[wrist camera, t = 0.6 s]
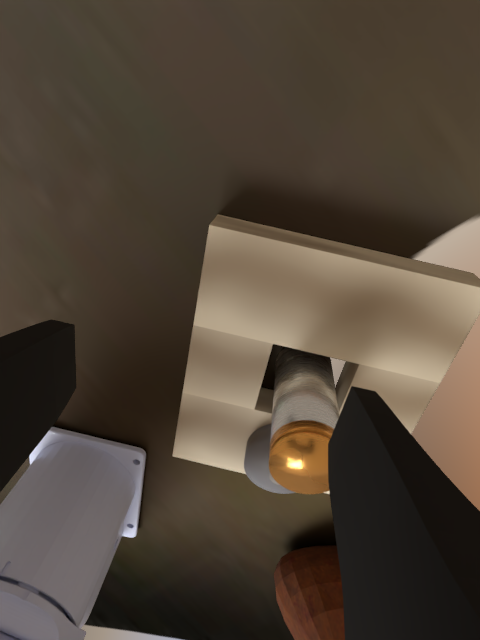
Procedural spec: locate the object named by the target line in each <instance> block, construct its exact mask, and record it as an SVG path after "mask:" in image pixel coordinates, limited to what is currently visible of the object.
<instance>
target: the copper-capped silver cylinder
mask: <svg viewBox="0 0 480 640" xmlns="http://www.w3.org/2000/svg"><path fill="white" fill-rule="evenodd" d="M338 418H339V410H338V404H337V397H336V391H335V384H334V378H333V372H332V366H331V360H330V357H327V356H323V355H318V354H314V353H310V352H306V351H301V350H297V349H293V348H289V347H285V348H284V349H282V350H281V352H280V353H279V354H278V356H277V359H276V366H275V380H274V395H273V409H272V424H271V438H270V452H269V471H270V473H271V475H272V477H273V478H274V480H275V481H276V482H277V483H278V484H280V485H281V486H283V487H284V488H286V489H288V490H291V491H293V492H297V493H302V494H318V493H323V492H327V491H329V483H328V443H329V441H330V438H331V436H332V433H333V431H334V428H335V426H336V423H337V421H338Z"/></svg>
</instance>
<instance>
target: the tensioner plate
mask: <svg viewBox="0 0 480 640" xmlns="http://www.w3.org/2000/svg"><path fill="white" fill-rule="evenodd" d="M479 314H480V279H479V278H478V277H477V276H476V275H474V274H473V273H470V272H465V271H461V270H457V269H452V268H448V267H444V266H439V265H435V264H430V263H426V262H422V261H418V260H413V259H409V258H405V257H400V256H396V255H392V254H387V253H383V252H379V251H374V250H370V249H366V248H361V247H357V246H353V245H348V244H344V243H340V242H335V241H331V240H327V239H322V238H318V237H314V236H309V235H305V234H301V233H296V232H292V231H288V230H283V229H279V228H275V227H270V226H266V225H262V224H257V223H253V222H249V221H244V220H240V219H236V218H231V217H227V216H223V215H217V216H216V217H215V218H214V220H213V221H212V222H211V223H210V225H209V230H208V237H207V243H206V249H205V255H204V262H203V268H202V274H201V280H200V287H199V293H198V299H197V305H196V312H195V318H194V324H193V330H192V337H191V343H190V349H189V355H188V362H187V368H186V374H185V380H184V387H183V393H182V399H181V405H180V412H179V418H178V424H177V430H176V437H175V443H174V449H173V455H172V456H173V457H177V458H182V459H186V460H190V461H194V462H198V463H202V464H207V465H211V466H215V467H219V468H223V469H227V470H231V471H236V472H240V473H244V474H247V476H248V477H249V479H250V480H251V481H252V482H253V483H254V484H256V485H257V486H259V487H260V488H262V489H265V490H267V491H270V492H274V493H282V494H288V493H296V492H293V491H291V490H288V489H286V488H284V487H283V486H281V485H280V484H278V483H277V482H276V481H275V480H274V478H273V477H272V475H271V473H270V471H269V452H270V438H271V424H272V409H273V395H274V390H270V389H266V388H262V387H261V385H262V381H263V377H264V374H265V370H266V367H267V363H268V360H269V356H270V353H271V349H272V346H273V344H276V345H280V346H284V347H289V348H293V349H297V350H301V351H306V352H310V353H314V354H318V355H323V356H327V357H332V358H335V359H340V360H344V361H346V363H345V365H344V367H343V370H342V372H341V375H340V377H339V380H338V382H337V385H336V388H335V391H336V397H337V404H338V410H339V416H340V414H341V411H342V409H343V406H344V404H345V401H346V399H347V396H348V394H349V391H350V389H351V386H354V387H359V388H363V389H368V390H372V391H376V392H377V393H378V395H379V396H380V397H381V398H382V399H383V400H384V402H385V403H386V404H387V405H388V406H389V408H390V409H391V410H392V411H393V413H394V414H395V415H396V416H397V418H398V419H399V420H400V421H401V423H402V424H403V425H404V426H405V428H406V429H407V430H408V431H409V433H410V434H412V432H413V430H414V428H415V427H416V424H417V423H418V421H419V420H420V418H421V416H422V414H423V412H424V411H425V409H426V407H427V405H428V404H429V402H430V400H431V398H432V397H433V395H434V393H435V391H436V390H437V388H438V386H439V384H440V382H441V381H442V379H443V377H444V376H445V374H446V372H447V370H448V368H449V367H450V365H451V363H452V362H453V360H454V358H455V356H456V354H457V353H458V351H459V349H460V347H461V346H462V344H463V342H464V340H465V339H466V337H467V335H468V333H469V332H470V330H471V328H472V326H473V325H474V323H475V321H476V319H477V318H478V316H479ZM323 493H327V494H330V491H327V492H323Z"/></svg>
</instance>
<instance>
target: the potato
mask: <svg viewBox="0 0 480 640" xmlns="http://www.w3.org/2000/svg"><path fill="white" fill-rule="evenodd" d="M274 579H275V587H276V597H277V602H278V605H279V607H280V610H281V613H282V615H283V618H284V621H285V623H286V624H287V626H288V628H289V630H290V632H291V634H292V635H293V637H294V639H295V640H345V629H344V606H343V592H342V581H341V572H340V565H339V558H338V551H337V546H313V547H306V548H301V549H297V550H293V551H291V552H289V553H288V554H286V555H285V556H283V557H282V558H281V559H280V561H279V563H278V564H277V567H276V569H275V572H274Z"/></svg>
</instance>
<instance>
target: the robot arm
mask: <svg viewBox="0 0 480 640" xmlns="http://www.w3.org/2000/svg"><path fill="white" fill-rule="evenodd" d="M75 389H76V363H75V329H74V325H73V324H69V323H64V322H60V321H55V320H48V321H45V322H41V323H38V324H35V325H32V326H30V327H27V328H24V329H21V330H19V331H16V332H13V333H10V334H8V335H5V336H2V337H0V492H1V490H2V489H3V488H4V487H5V485H6V484H7V483H8V482H9V480H10V479H11V478H12V477H13V475H14V474H15V473H16V472H17V470H18V469H19V468H20V467H21V465H22V464H23V463H24V462H25V460H26V459H27V458H28V457H29V458H30V466H29V468H28V469H27V470H26V472H25V473H24V474H23V475H22V477H21V478H20V479H19V481H18V482H17V483H16V485H15V486H14V487H13V489H12V490H11V491H10V493H9V494H8V495H7V497H6V498H5V499H4V501H3V502H2V503H1V505H0V640H84V637H85V635H86V632H85V631H84V630H82V629H81V628H82V627H83V625H84V624H85V622H86V621H87V619H88V617H89V615H90V613H91V610H92V608H93V605H94V603H95V601H96V598H97V596H98V593H99V591H100V588H101V586H102V583H103V581H104V579H105V576H106V574H107V571H108V569H109V566H110V564H111V561H112V559H113V557H114V554H115V552H116V549H117V547H118V544H119V542H120V539H121V537H122V536H126V537H131V538H132V537H135V536H136V534H137V531H138V523H139V514H140V505H141V496H142V488H143V479H144V470H145V461H146V452H145V451H144V450H143V449H142V448H139V447H135V446H131V445H126V444H122V443H118V442H114V441H110V440H106V439H101V438H97V437H93V436H89V435H85V434H81V433H77V432H72V431H68V430H64V429H60V428H56V427H52V426H53V425H54V423H55V422H56V421H57V419H58V418H59V416H60V414H61V413H62V411H63V409H64V408H65V406H66V405H67V403H68V401H69V399H70V398H71V396H72V394H73V392H74V391H75ZM136 459H137V460H136ZM328 483H329V491H330V499H331V507H332V514H333V521H334V529H335V536H336V543H337V551H338V558H339V565H340V572H341V581H342V592H343V606H344V629H345V640H480V511H479V510H478V509H477V508H476V507H475V506H474V505H473V504H472V503H471V502H470V501H469V500H468V499H467V498H466V497H465V496H464V495H463V493H462V492H461V491H460V490H459V489H458V488H457V487H456V486H455V485H454V484H453V483H452V482H451V480H450V479H449V478H448V477H447V476H446V475H445V474H444V473H443V472H442V471H441V469H440V468H439V467H438V466H437V465H436V464H435V463H434V461H433V460H432V459H431V458H430V457H429V455H428V454H427V453H426V452H425V451H424V450H423V449H422V447H421V446H420V445H419V444H418V442H417V441H416V440H415V439H414V437H413V436H412V435H411V434H410V433H409V431H408V430H407V429H406V428H405V426H404V425H403V424H402V423H401V421H400V420H399V419H398V418H397V416H396V415H395V414H394V413H393V411H392V410H391V409H390V408H389V406H388V405H387V404H386V403H385V402H384V400H383V399H382V398H381V397H380V396H379V395H378V393H377V392H376V391H372V390H368V389H363V388H359V387H354V386H351V389H350V391H349V394H348V396H347V399H346V401H345V404H344V406H343V409H342V411H341V414H340V416H339V418H338V421H337V423H336V426H335V428H334V431H333V433H332V436H331V438H330V441H329V443H328Z"/></svg>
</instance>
